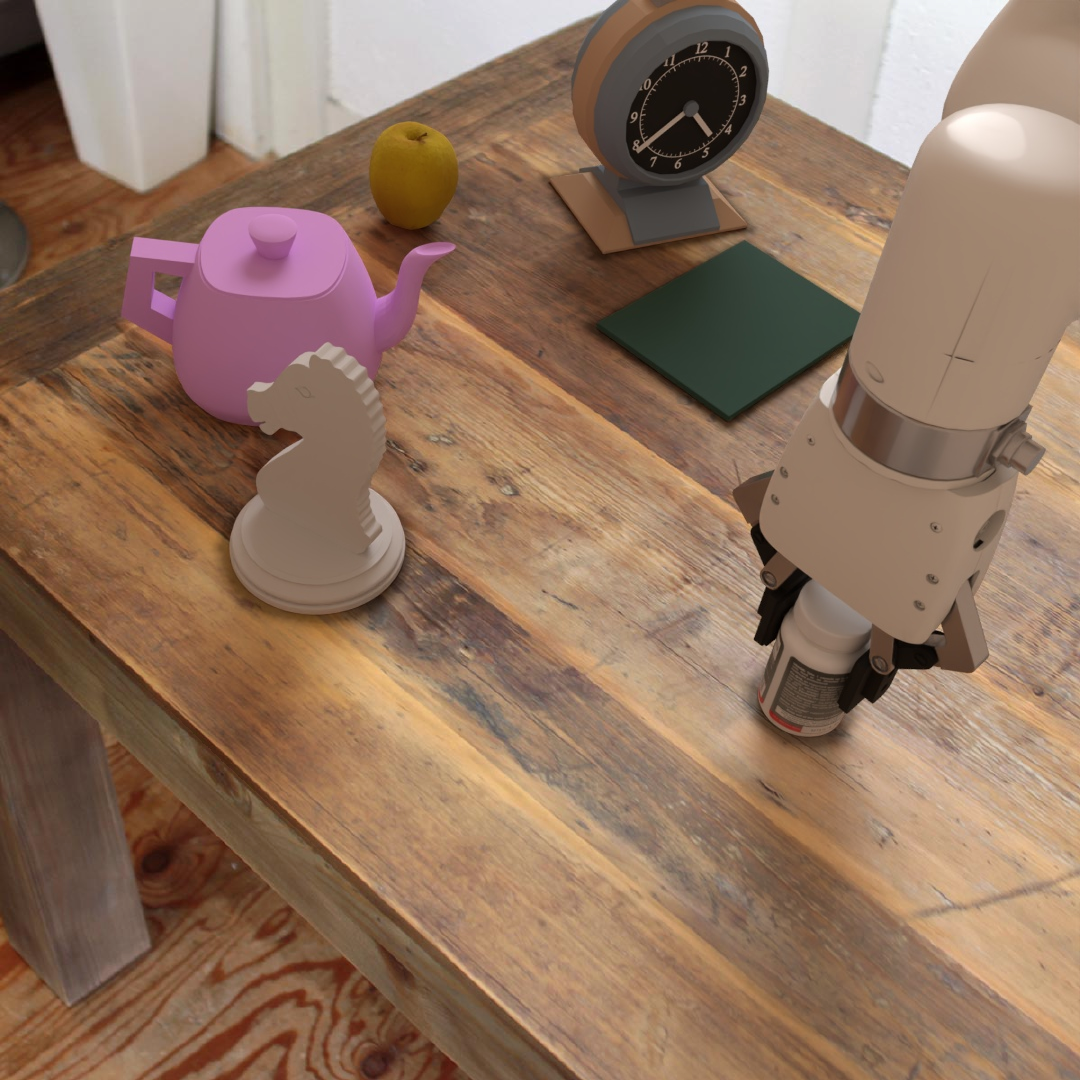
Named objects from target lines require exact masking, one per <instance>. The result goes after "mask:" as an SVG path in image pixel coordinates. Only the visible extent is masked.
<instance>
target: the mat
mask: <svg viewBox="0 0 1080 1080" xmlns="http://www.w3.org/2000/svg"><path fill="white" fill-rule="evenodd" d="M860 314H861V312H859V311H857V310H856V309H854V307H851V305H848V304H847V303H845V302H844V301H842V300H840V298H838V297H836V296H834V295H832V294H831V293H829V292H828V291H827V290H825V289H823V288H822V287H820V286H819V285H816V284H815V283H813V282H812V281H811V280H809V279H808V278H806V277H805V276H803V275H801V274H799V273H798V272H796V271H795V270H793V269H792V268H790V267H788V266H787V265H785V264H783V263H782V262H781V261H779V260H778V259H776V258H774V257H772V256H771V255H769V254H768V253H766V252H764V251H763V250H761V249H760V248H758V247H757V246H755V245H754V244H752V243H751V242H749V241H747V240H746V239H744V240H742V241H740V242H738V243H736V244H734V245H733V246H731V247H729V248H727V249H725V250H724V251H722V252H720V253H718V254H717V255H715V256H713V257H711V258H709V259H707V260H706V261H704V262H702V263H700V264H698V265H697V266H695V267H693V268H691V269H690V270H688V271H687V272H684V273H683V274H681V275H679V276H677V277H676V278H674V279H672V280H670V281H668V282H667V283H665V284H663V285H661V286H660V287H658V288H655V289H654V290H652V291H650V292H649V293H647V294H645V295H644V296H642V297H640V298H638V299H636V300H635V301H632V302H631V303H629V304H627V305H626V306H624V307H622V308H620V309H619V310H617V311H614V312H613V313H611V314H610V315H608V316H606V317H604V318H602V319H600V320H599V321H597V322H596V326H595V328H596V329H597V330H599V331H600V332H601V333H603V334H604V335H606V336H607V337H608V338H610V340H612V341H614V342H616V343H617V344H618V345H619V346H621V347H622V348H624V349H625V350H627V351H628V352H629V353H631V354H632V355H633V356H634V357H636V358H638V359H639V360H641V361H642V362H644V363H645V364H646V365H647V366H649V367H651V369H653V370H654V371H656V372H657V373H658V374H660V375H662V376H663V377H664V378H665V379H667V380H668V381H670V382H671V383H673V384H674V385H675V386H677V387H678V388H679V389H681V390H683V391H684V392H685V393H687V394H688V395H689V396H691V397H692V398H693V399H695V400H697V401H698V402H699V403H700V404H702V405H703V406H705V407H707V409H709V410H711V411H712V412H713V413H715V414H716V415H717V416H718V417H720V418H721V419H723V420H724V421H726V422H730V421H731V420H733V419H734V418H736V417H738V415H740V414H742V413H743V412H744V411H746V410H748V409H749V408H751V407H752V406H754V405H755V404H756V403H758V402H760V401H761V400H762V399H764V398H766V397H767V396H769V395H770V394H772V393H774V392H775V391H777V390H778V389H779V388H781V387H783V386H784V385H785V384H787V383H789V381H791V380H793V379H794V378H795V377H797V376H799V375H801V374H802V373H804V372H805V371H807V369H809V368H811V367H813V366H814V365H815V364H817V363H818V362H820V361H821V360H823V359H824V358H826V357H827V356H828V355H830V354H832V353H833V352H835V351H837V350H838V349H840V348H841V347H842V346H844V345H845V344H847V343H849V342H851V340H852V338H853V334H854V331H855V329H856V326H857V323H858V320H859V317H860Z"/></svg>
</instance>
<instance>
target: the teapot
mask: <svg viewBox="0 0 1080 1080" xmlns="http://www.w3.org/2000/svg"><path fill="white" fill-rule="evenodd" d="M456 246H457V245H456V244H454V243H453V242H449V241H436V242H430V243H425V244H422V245H419V246H417V247H415V248H412V250H411V251H409V252H408V253H407V255H406V256H405V257H404V258H403V260H402V261H401V263H400V267H399V272H398V275H397V281H396V285H395V287H394V289H393V290H392V291H391V292H389V293H388V294H385V295H383V296H380V297H377V293H376V291H375V288H374V285H373V282H372V279H371V277H370V275H369V272H368V270H367V268H366V265H365V263H364V261H363V259H362V258H361V256H360V254H359V253H358V251H357V249H356V247H355V246H354V243H353V242H352V240H351V239H350V237H349V235H348V234H347V232H346V230H345V228H343V226H342V225H341V224H340V223H339V222H338V221H337V220H336V219H335V218H333V217H332V216H330V215H328V214H326V213H322V212H319V211H315V210H309V209H301V208H291V207H280V206H245V207H237V208H233V209H230V210H228V211H225V212H224V213H222V214H220V215H219V216H218V217H217V218H215V219H214V221H212V222H211V223H210V225H209V227H208V228H207V229H206V231H205V232H204V235H203V236H202V238H201V240H200V242H199V243H193V242H183V241H175V240H166V239H157V238H149V237H139V236H133V240H132V245H131V249H130V255H129V262H128V269H127V274H126V280H125V287H124V293H123V299H122V306H121V310H120V317H121V318H123V319H125V320H127V321H129V322H130V323H132V324H133V325H136V326H137V327H139V328H141V329H142V330H144V331H145V332H148V333H150V334H152V335H153V336H155V337H157V338H158V339H160V340H162V341H164V342H166V343H167V344H169V345H171V346H172V348H171V349H172V358H173V363H174V369H175V372H176V375H177V378H178V380H179V382H180V384H181V387H182V388H183V390H184V392H185V394H187V396H188V397H189V398H190V399H191V400H192V402H194V403H195V404H196V405H197V406H198V407H199V408H201V409H202V410H204V412H206V413H208V414H209V415H211V416H212V417H214V418H216V419H219V420H221V421H224V422H227V423H231V424H237V425H244V426H252V427H259V425H260V424H261V423H263V422H254V421H253V420H252V419H251V417H250V415H249V413H248V408H247V398H248V395H247V389H249V388H250V387H251V386H252V385H253V384H254V383H255V382H263V383H272V382H275V380H276V379H277V378H278V377H279V375H280V374H281V373H282V371H283V370H284V369H285V368H286V367H288V366H289V365H290V364H291V363H292V362H293V361H294V360H295V359H296V358H298V357H299V356H300V355H302V354H303V353H305V352H316V351H317V350H318V349H319V348H320V347H321V346H323V345H324V344H325V343H327V342H329V343H331V344H332V345H333V346H335V347H342V348H343V349H344V350H345V352H346V354H347V355H349V356H352V357H354V358H355V359H356V360H357V362H358V363H359V364H360V365H361V366H363V367H365V368H366V369H367V375H368V377H369V378H370V379H371V380H372V381H373V382H374V380H375V379H376V376H377V374H378V371H379V368H380V365H381V362H382V359H383V353H384V352H386V351H388V350H390V349H392V348H394V347H396V346H397V345H398V344H399V343H400V342H401V341H403V340H404V339H405V338H406V336H407V335H408V334H409V332H410V330H411V329H412V327H413V325H414V322H415V319H416V316H417V313H418V308H419V304H420V303H419V302H420V295H421V289H422V284H423V280H424V278H425V276H426V273H427V272H428V270H429V268H430V267H431V266H432V265H433V264H434V263H435V262H436V261H438V260H440V259H441V258H443V257H445V256H447V255H449V254H450V253H453V252H454V250H455V249H456ZM156 273H159V274H163V275H169V276H175V277H179V278H182V280H181V284H180V286H179V290H178V292H177V296H176V300H175V299H174V298H172V297H170V296H168V295H167V294H164V293H163V292H161V291H159V290H158V289H156V288H155V278H156V276H155V275H156Z"/></svg>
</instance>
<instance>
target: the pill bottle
mask: <svg viewBox="0 0 1080 1080" xmlns="http://www.w3.org/2000/svg"><path fill="white" fill-rule="evenodd" d="M871 630H872V623H871V622H870V621H869V620H867V619H866V618H864V617H863V616H862V615H860V614H859V613H858V612H856V611H855V610H853V609H852V608H851V607H849V606H848V605H847V604H845V603H844V602H843V601H841V600H840V599H839V598H837V597H836V596H835V595H833V594H832V593H831V592H829V591H828V590H827V589H825V588H824V587H823V586H822V585H820V584H819V583H818V582H816V581H815V580H814V579H812V580H810V581H809V582H807V583H806V584H805V585H804V587H803V588H802V590H801V592H800V594H799V597H798V599H797V600H796V602H795V605H793V606H792V607H791V608H790V609H789V611H788V612H787V613H786V615H785V617H784V619H783V621H782V624H781V627H780V630H779V632H778V635H777V638H776V639H775V640H774V644H773V646H772V648H771V652H770V654H769V656H768V660H767V662H766V665H765V668H764V670H763V674H762V676H761V679H760V682H759V684H758V689H757V696H758V702H759V705H760V708H761V710H762V712H763V713H764V715H765V716H766V718H767V719H768V720H769V721H770V722H771V723H772V724H773V725H774V726H776V727H777V728H778V729H780V730H781V731H784V732H786V733H788V734H790V735H793V736H797V737H807V738H808V737H809V738H810V737H811V738H812V737H819V736H823V735H826V734H828V733H830V732H832V731H833V730H835V729H836V728H837V727H838V726H839V725H840V723H841V722H842V720H843V718H844V716H845V715H846V713H845V712H843V711H842V710H841V709H839V708H838V706H839V704H838V703H837V701H838V699H839V696H840V694H841V692H842V690H843V688H844V685H845V683H846V681H847V679H848V677H849V674H850V672H851V670H852V668H853V666H854V664H855V662H856V661H857V659H858V658H859V657H860V656H862V655H863V654H864V653H865V652H866V651H867V650H868V649H869V648H870V642H871Z"/></svg>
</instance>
